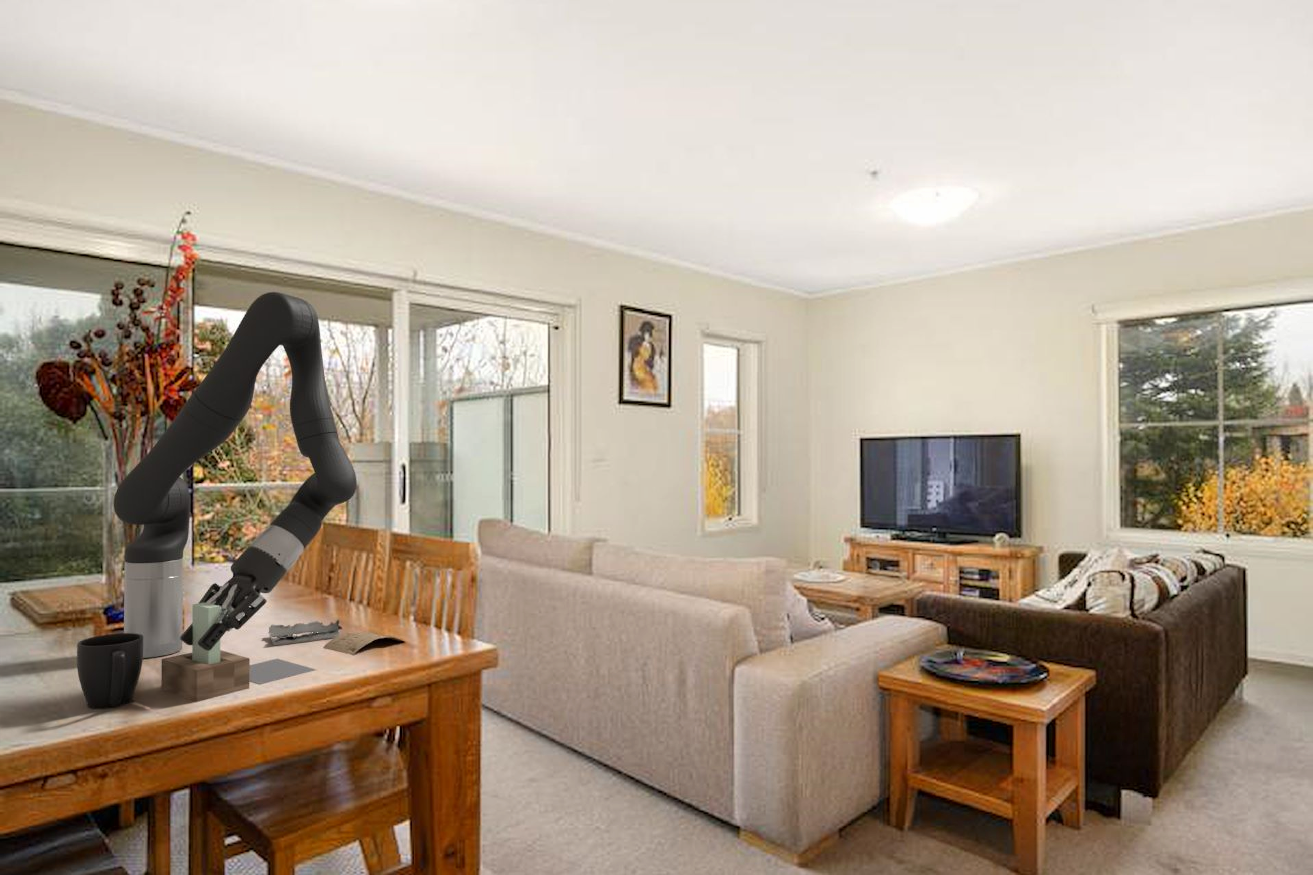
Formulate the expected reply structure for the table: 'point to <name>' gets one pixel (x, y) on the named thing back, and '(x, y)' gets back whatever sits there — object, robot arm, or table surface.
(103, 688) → the mug
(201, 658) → the tall mint green block
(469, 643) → the table surface
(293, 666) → the mat
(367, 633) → the brown curved sheet
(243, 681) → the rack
